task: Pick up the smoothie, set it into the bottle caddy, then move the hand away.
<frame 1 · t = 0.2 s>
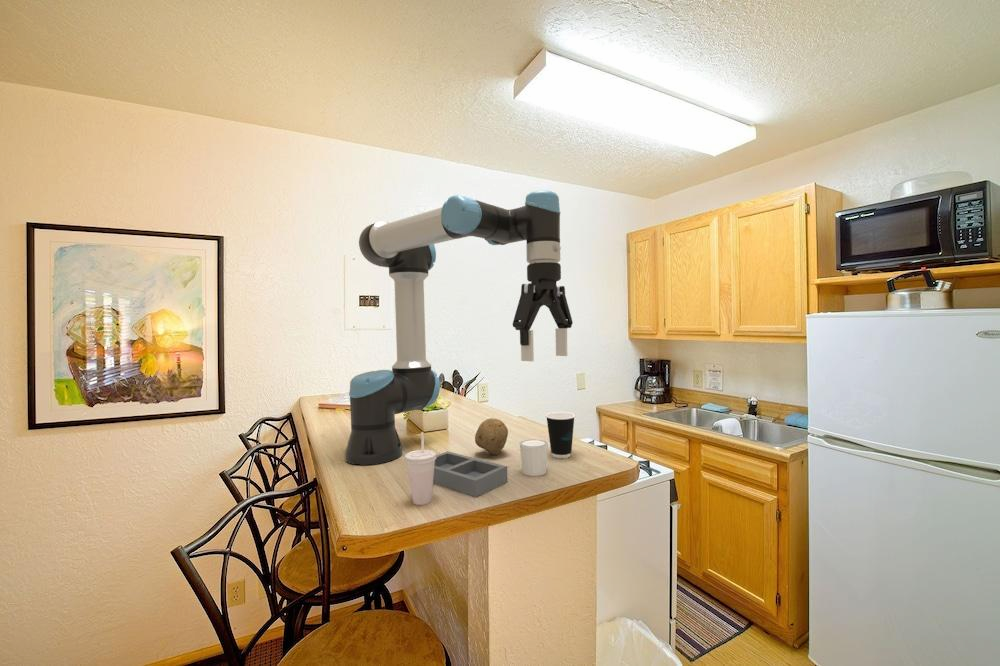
hand: (545, 358, 92), 28 cm above the table, tool pointing down, fingers open, 13 cm apart
potato: (492, 455, 113), on the table
bottle caddy: (460, 479, 95), on the table
smoothie: (422, 502, 84), on the table
dixie cup: (561, 456, 110), on the table
white rounded cylinder: (534, 472, 99), on the table
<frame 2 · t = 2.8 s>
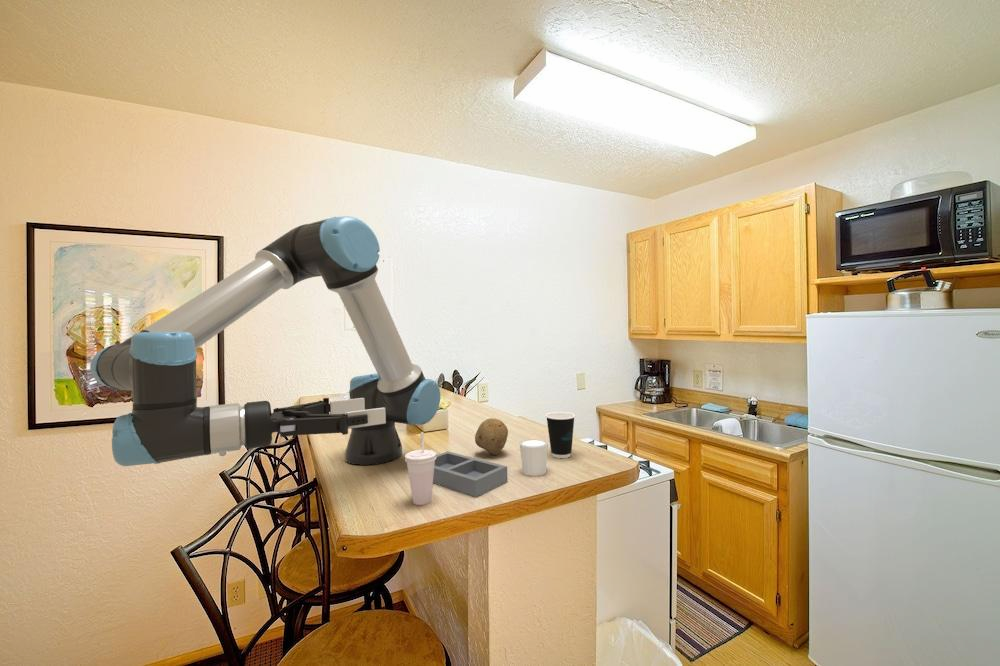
hand: (374, 409, 79), 20 cm above the table, tool horizontal, fingers open, 13 cm apart
nothing on the table moved.
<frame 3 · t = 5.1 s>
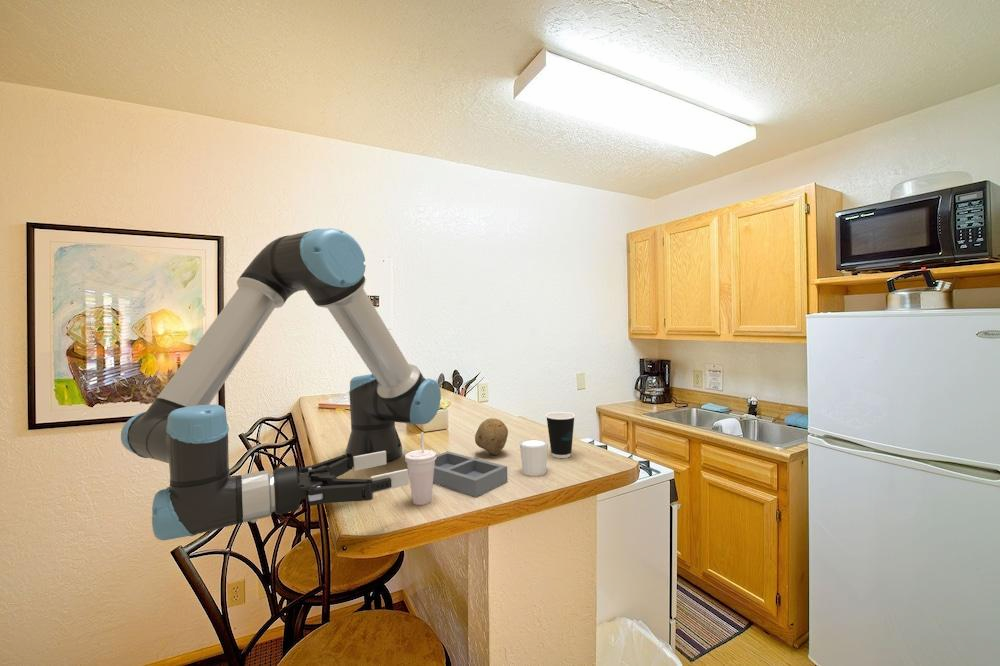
hand: (396, 466, 81), 8 cm above the table, tool horizontal, fingers open, 13 cm apart
nothing on the table moved.
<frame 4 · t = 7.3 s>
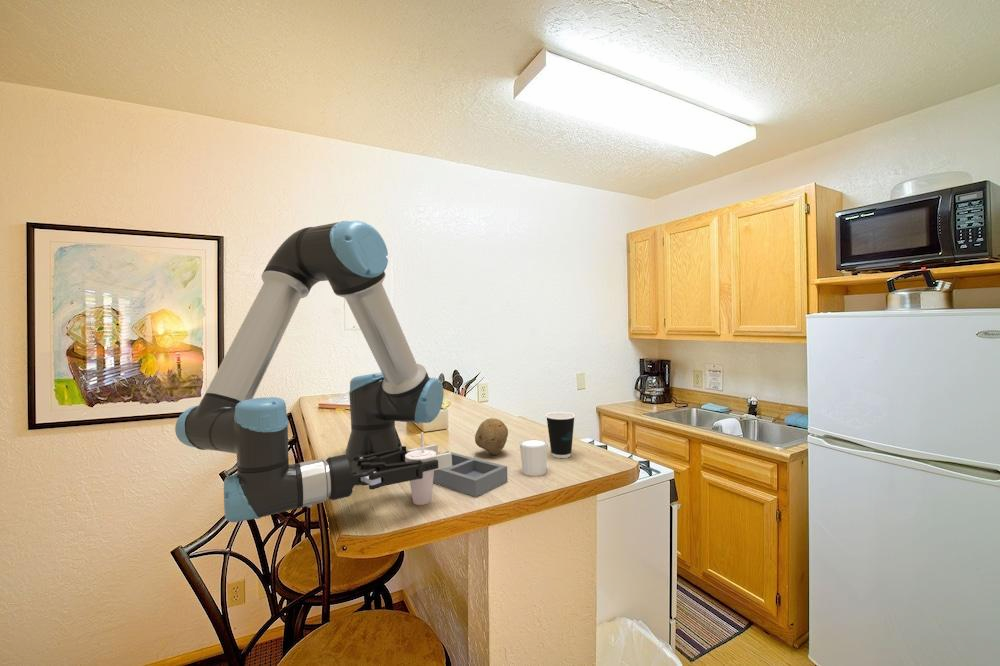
hand: (443, 454, 87), 9 cm above the table, tool horizontal, fingers closed on smoothie, 6 cm apart
smoothie: (422, 501, 84), on the table, touching gripper
everything else where it was.
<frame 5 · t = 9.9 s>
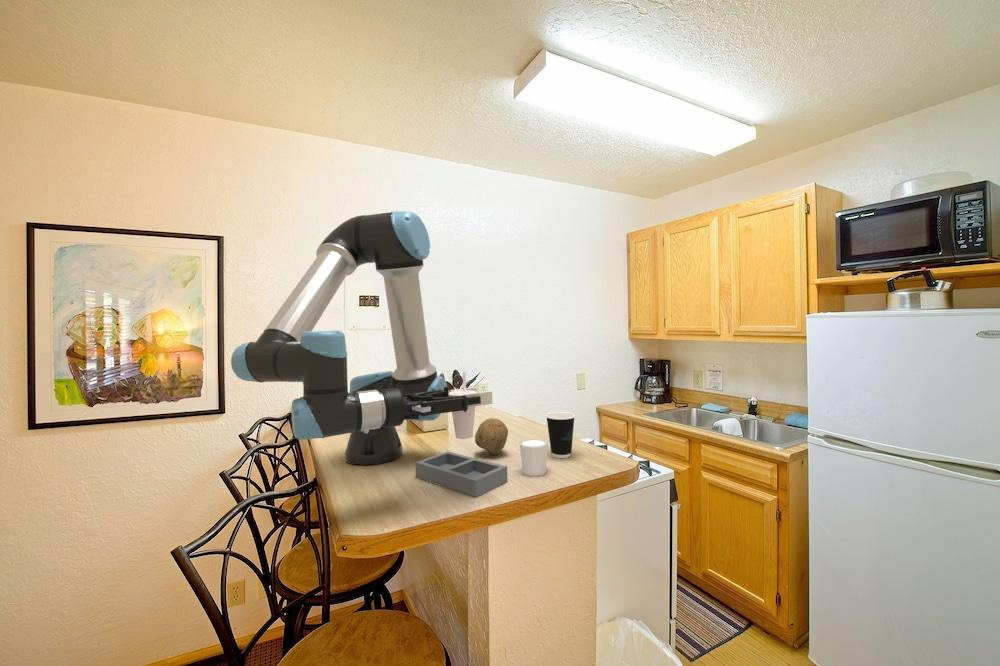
hand: (483, 395, 92), 20 cm above the table, tool horizontal, fingers closed on smoothie, 6 cm apart
smoothie: (464, 437, 90), point 11 cm above the table, touching gripper
everything else where it was.
when the fingers open (11 cm above the table, at t = 12.7 s): smoothie drops 1 cm, resting on bottle caddy.
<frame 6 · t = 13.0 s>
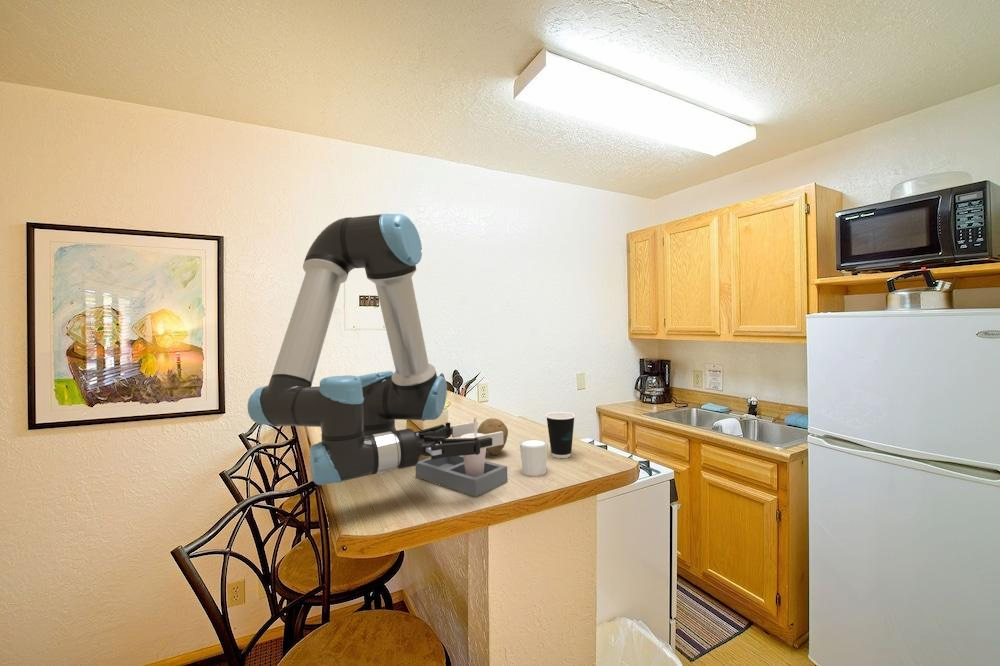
hand: (489, 432, 94), 11 cm above the table, tool horizontal, fingers open, 11 cm apart
smoothie: (474, 480, 92), point 1 cm above the table, touching bottle caddy
everything else where it was.
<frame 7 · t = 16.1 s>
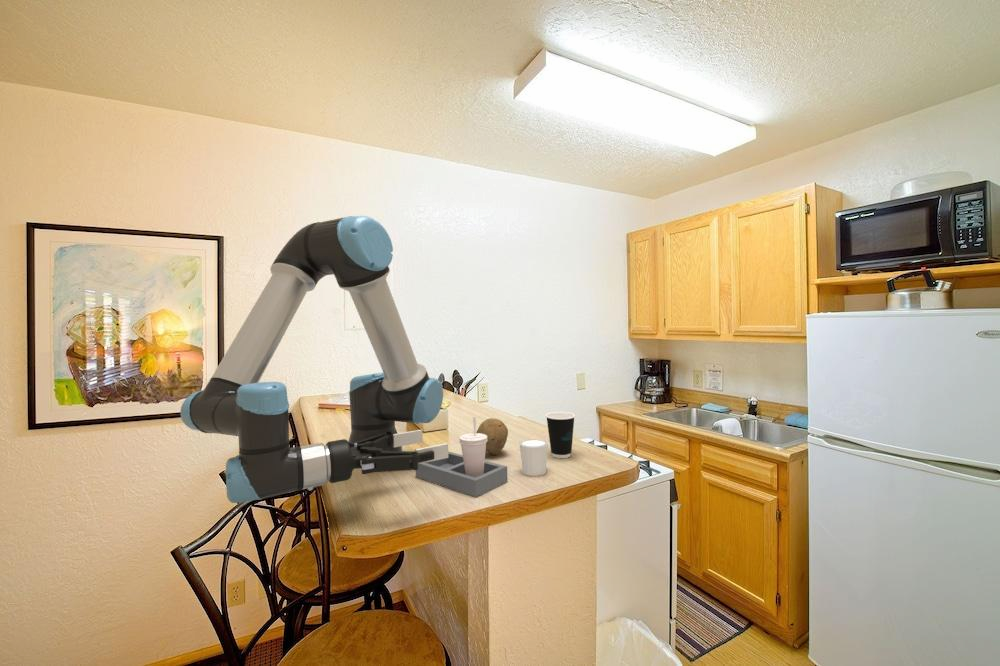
hand: (434, 442, 87), 11 cm above the table, tool horizontal, fingers open, 13 cm apart
nothing on the table moved.
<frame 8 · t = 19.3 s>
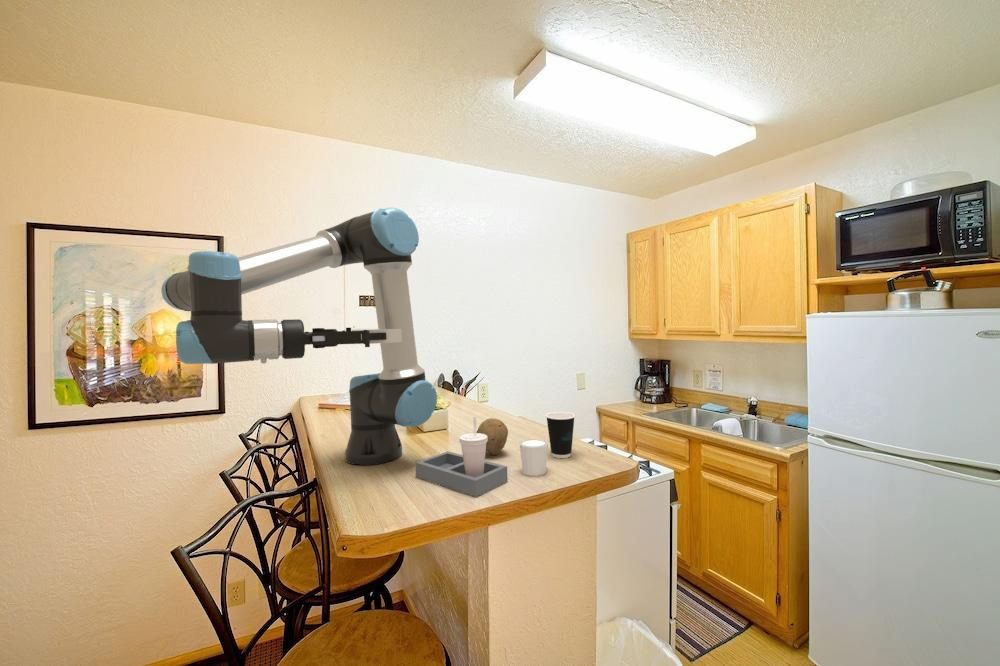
hand: (390, 335, 89), 34 cm above the table, tool horizontal, fingers open, 13 cm apart
nothing on the table moved.
at the end: smoothie 0.1 cm from the target spot on the bottle caddy, point 0.8 cm above the bottle caddy's base; smoothie tilted 0°; the gripper is holding nothing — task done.
